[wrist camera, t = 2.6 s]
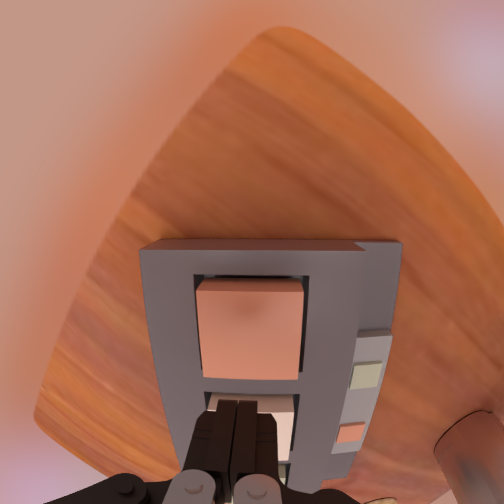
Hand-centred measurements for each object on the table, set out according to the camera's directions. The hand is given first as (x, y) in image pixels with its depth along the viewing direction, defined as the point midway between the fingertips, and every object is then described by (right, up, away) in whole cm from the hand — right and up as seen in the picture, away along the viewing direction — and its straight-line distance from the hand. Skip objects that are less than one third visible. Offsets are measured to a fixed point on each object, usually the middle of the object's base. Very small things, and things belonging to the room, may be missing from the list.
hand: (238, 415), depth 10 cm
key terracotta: (+1, +2, +9) cm, 9 cm away
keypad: (+3, -6, +14) cm, 15 cm away
